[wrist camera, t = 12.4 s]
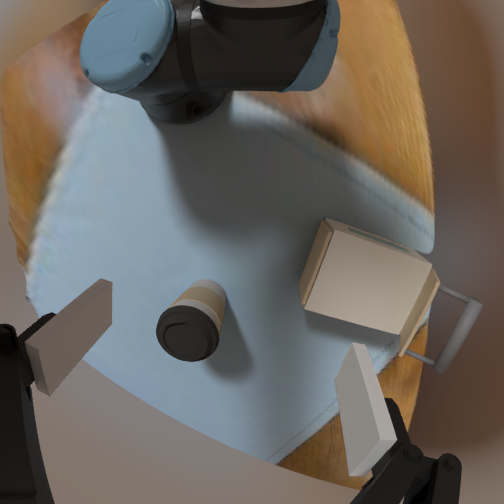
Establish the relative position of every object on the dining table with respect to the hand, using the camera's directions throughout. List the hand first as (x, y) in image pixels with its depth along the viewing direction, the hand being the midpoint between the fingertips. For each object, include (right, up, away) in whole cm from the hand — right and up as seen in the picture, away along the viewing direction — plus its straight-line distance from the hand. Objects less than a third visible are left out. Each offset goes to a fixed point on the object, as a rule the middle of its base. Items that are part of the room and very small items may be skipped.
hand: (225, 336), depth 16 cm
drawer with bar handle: (+24, -4, +22) cm, 33 cm away
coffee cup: (-7, -4, +39) cm, 39 cm away
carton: (+19, +2, +34) cm, 39 cm away
